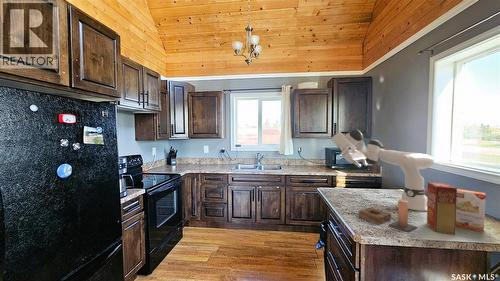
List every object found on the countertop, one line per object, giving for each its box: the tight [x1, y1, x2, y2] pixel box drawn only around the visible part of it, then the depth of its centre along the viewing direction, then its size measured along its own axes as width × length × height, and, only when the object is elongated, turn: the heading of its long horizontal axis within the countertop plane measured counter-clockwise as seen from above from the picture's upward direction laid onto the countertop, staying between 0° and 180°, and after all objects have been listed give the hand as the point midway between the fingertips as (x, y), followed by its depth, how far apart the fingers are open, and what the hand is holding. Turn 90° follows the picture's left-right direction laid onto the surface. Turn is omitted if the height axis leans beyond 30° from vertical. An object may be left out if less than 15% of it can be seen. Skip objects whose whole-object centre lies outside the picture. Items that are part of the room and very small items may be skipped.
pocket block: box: [358, 207, 392, 225], centre depth 138 cm, size 13×13×4 cm
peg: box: [397, 199, 409, 227], centre depth 126 cm, size 4×4×14 cm
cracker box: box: [456, 188, 487, 233], centre depth 127 cm, size 14×6×21 cm, turn 45°
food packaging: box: [426, 181, 458, 236], centre depth 124 cm, size 13×9×25 cm
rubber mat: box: [388, 220, 418, 233], centre depth 126 cm, size 10×10×1 cm
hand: (363, 166), depth 148 cm, fingers open, 8 cm apart
